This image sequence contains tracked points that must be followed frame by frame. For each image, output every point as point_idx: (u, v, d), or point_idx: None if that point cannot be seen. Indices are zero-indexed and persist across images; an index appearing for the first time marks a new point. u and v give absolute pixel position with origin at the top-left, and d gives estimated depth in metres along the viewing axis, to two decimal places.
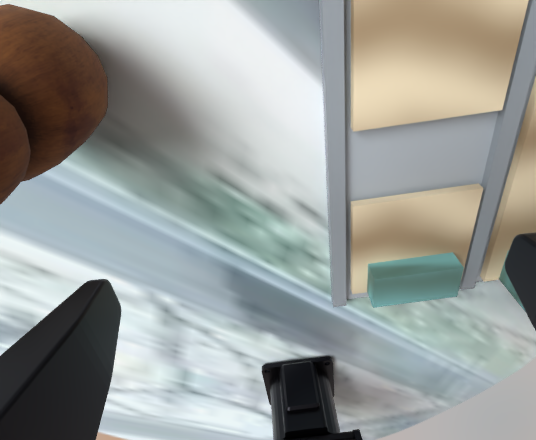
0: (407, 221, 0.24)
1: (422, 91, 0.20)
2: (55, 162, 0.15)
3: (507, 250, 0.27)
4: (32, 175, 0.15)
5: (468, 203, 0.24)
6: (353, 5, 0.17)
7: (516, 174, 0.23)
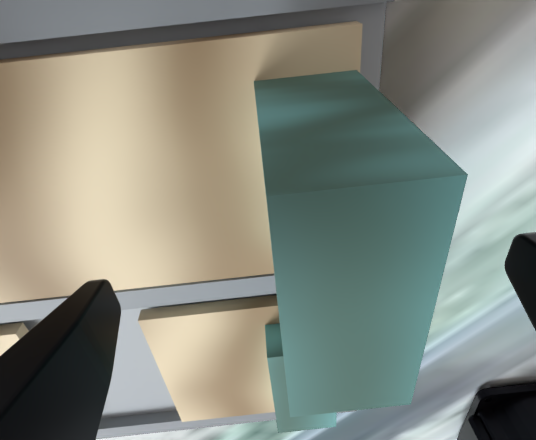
0: (202, 380, 0.18)
1: None
2: None
3: (271, 251, 0.14)
4: None
5: (167, 330, 0.16)
6: None
7: None
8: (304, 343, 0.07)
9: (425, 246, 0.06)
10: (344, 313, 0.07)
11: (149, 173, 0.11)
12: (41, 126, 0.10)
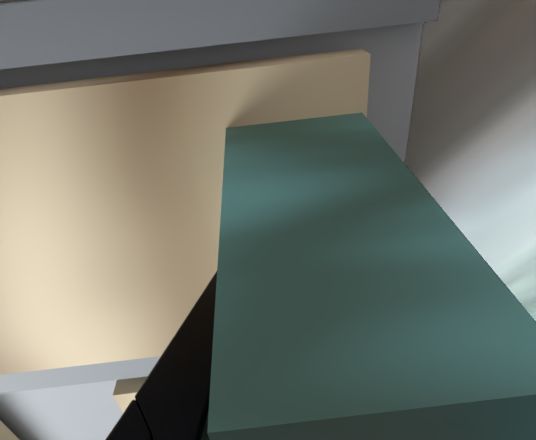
0: None
1: None
2: None
3: None
4: None
5: None
6: None
7: (59, 366, 0.12)
8: None
9: None
10: None
11: (97, 239, 0.09)
12: None
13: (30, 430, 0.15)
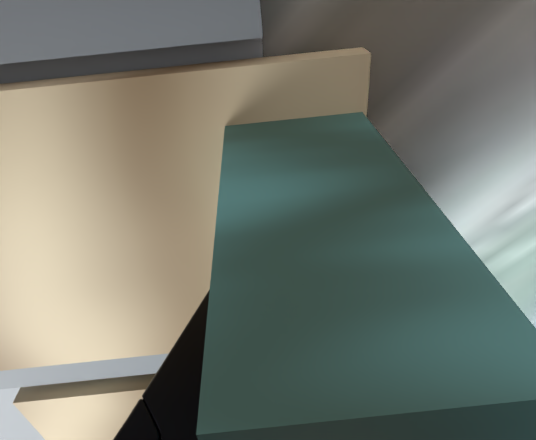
0: None
1: None
2: None
3: None
4: None
5: (52, 411, 0.13)
6: None
7: (55, 364, 0.12)
8: None
9: None
10: None
11: (94, 236, 0.09)
12: None
13: None
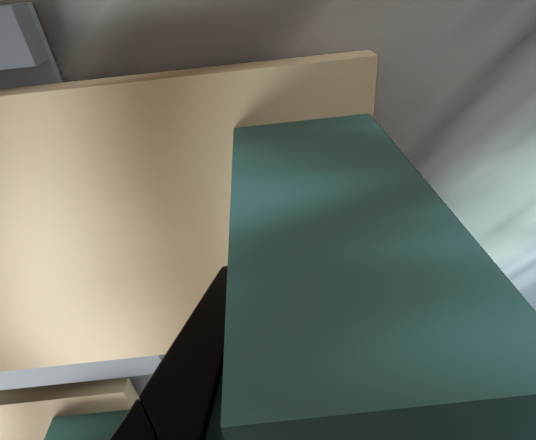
0: None
1: None
2: None
3: None
4: None
5: None
6: None
7: (64, 364, 0.12)
8: None
9: None
10: None
11: (104, 237, 0.09)
12: None
13: None
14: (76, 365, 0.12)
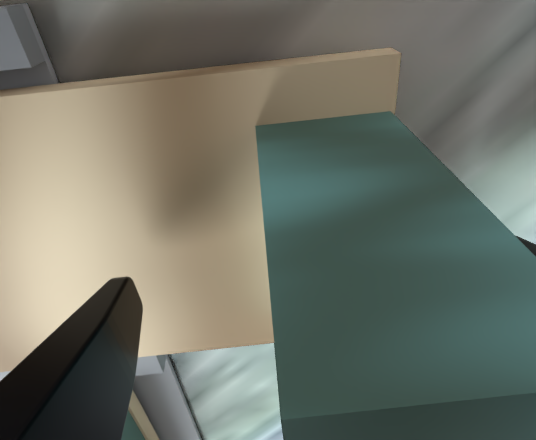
0: None
1: None
2: None
3: None
4: None
5: None
6: None
7: None
8: None
9: None
10: None
11: (123, 236, 0.09)
12: None
13: None
14: None
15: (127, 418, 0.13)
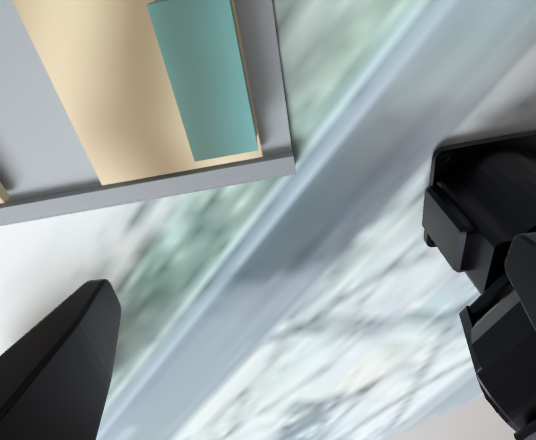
0: (106, 107, 0.16)
1: None
2: None
3: None
4: None
5: (46, 11, 0.14)
6: None
7: None
8: None
9: None
10: None
11: None
12: None
13: None
14: None
15: None
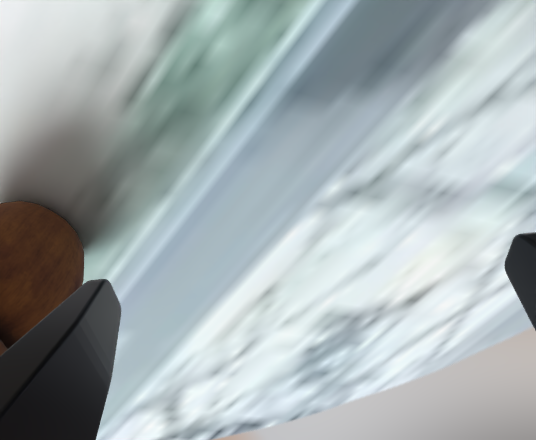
0: None
1: None
2: (9, 288, 0.16)
3: None
4: (24, 308, 0.16)
5: None
6: None
7: None
8: None
9: None
10: None
11: None
12: None
13: None
14: None
15: None
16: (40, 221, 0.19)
